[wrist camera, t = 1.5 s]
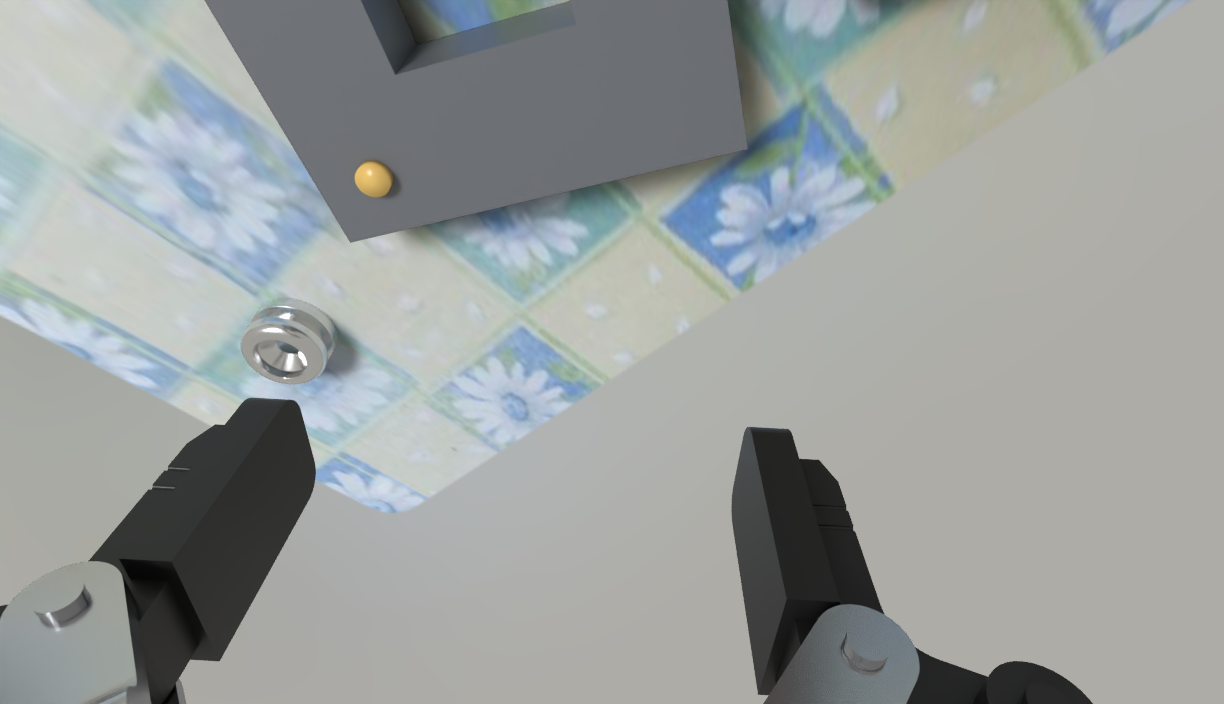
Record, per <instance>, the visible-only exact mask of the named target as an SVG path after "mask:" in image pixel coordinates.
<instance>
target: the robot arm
mask: <svg viewBox="0 0 1224 704" xmlns="http://www.w3.org/2000/svg"><path fill="white" fill-rule="evenodd" d="M315 474H316V469H315V462H314V458H313V454H312V451H311V447H310V443H309V439H308V436H307V432H306V428H305V424H304V421H303V417H302V413H301V410H300V407H299V405H298V404H297V402H295V401H294V400H283V399H265V398H248V399H246V400H245V401H244V402H243V403H242V404H241V405H240V406H239V408H238V409H237V410H236V412H235V413H234V414H233V415H232V417H231V418H230V419H229V420H228V422H227V423H226V424H225V425H214V426H212V427H211V428H209V429H208V430H207V431H205V432H204V433H202V434H201V435H199V436H198V437H196V438H195V439H193V440H192V441H190V442H189V443H187V444H186V445H185V447H184V448H183V449H182V450H181V451H180V453H179V454H178V455H177V456H176V457H175V459H174V460H173V461H172V462H171V463H170V465H169V466H168V470H167V471H164V472H163V473H162V474H161V475H160V476H159V478H158V479H157V480H156V482H154V484H153V488H152V490H148V491H147V492H146V493H145V495H144V496H143V497H142V498H141V499H140V500H139V502H138V503H137V504H136V505H135V506H134V508H133V509H132V510H131V511H130V512H129V513H128V515H127V516H126V517H125V518H124V520H123V521H122V522H121V523H120V524H119V525H118V527H117V528H116V529H115V530H114V531H113V533H112V534H111V535H110V536H109V537H108V539H107V540H106V541H105V542H104V543H103V545H102V546H101V547H100V548H99V550H98V551H97V552H96V553H95V554H94V555H93V557H92V558H91V559H90V560H89V561H88V562H81V563H76V564H71V565H68V566H65V567H62V568H59V569H57V570H54V571H52V572H50V573H48V574H46V575H44V576H42V577H40V578H39V579H37V580H36V581H34V582H32V583H31V584H30V585H28V586H27V587H26V588H24V589H23V590H22V591H21V592H20V593H19V594H18V595H17V596H16V597H14V598H13V600H12V601H11V602H10V603H9V604H8V605H4V606H0V704H186V701H185V695H184V690H183V686H182V683H181V681H180V679H179V677H180V675H181V674H182V672H183V670H184V669H185V667H186V665H187V663H188V662H189V660H190V659H191V660H208V661H220V659H221V658H222V656H223V654H224V652H225V650H226V648H227V647H228V645H229V643H230V641H231V639H232V638H233V636H234V634H235V632H236V630H237V628H238V627H239V625H240V623H241V621H242V620H243V618H244V616H245V614H246V612H247V610H248V609H249V607H250V605H251V603H252V602H253V600H254V598H255V596H256V594H257V593H258V591H259V589H260V587H261V585H262V584H263V582H264V580H265V578H266V576H267V575H268V573H269V571H270V569H271V567H272V565H273V564H274V562H275V560H276V558H277V556H278V554H279V553H280V551H281V549H282V547H283V546H284V544H285V542H286V540H287V538H288V536H289V535H290V533H291V531H292V529H293V527H294V526H295V524H296V522H297V520H298V518H299V517H300V515H301V513H302V511H303V509H304V508H305V506H306V504H307V502H308V500H309V499H310V496H311V494H312V491H313V488H314V483H315ZM732 523H733V530H734V537H735V543H736V550H737V557H738V564H739V570H740V576H741V583H742V590H743V597H744V603H745V610H746V616H747V623H748V630H749V637H750V643H751V650H752V656H753V663H754V670H755V677H756V683H757V690H758V695H759V694H760V695H769V696H768V698H767V699H766V701H765V702H764V704H1093V703H1092V702H1091V701H1090V700H1089V699H1088V698H1087V697H1086V695H1085V694H1084V693H1083V692H1082V691H1081V690H1079V689H1078V688H1077V687H1076V686H1075V685H1074V684H1072V683H1071V682H1070V681H1068V680H1067V679H1065V678H1064V677H1062V676H1061V675H1059V674H1057V673H1055V672H1054V671H1052V670H1049V669H1047V668H1045V667H1043V666H1040V665H1037V664H1033V663H1028V662H1020V661H1019V662H1018V661H1013V662H1007V663H1004V664H1001V665H999V666H998V667H996V668H995V669H994V670H993V671H992V672H991V674H990V675H989V677H987V676H984V675H981V674H978V673H975V672H972V671H970V670H966V669H964V668H961V667H958V666H955V665H952V664H950V663H947V662H943V661H941V660H939V659H936V658H934V657H931V656H929V655H927V654H925V653H924V652H922V651H920V650H919V649H917V648H916V647H914V645H913V643H912V641H911V639H910V638H909V637H908V635H907V634H906V633H905V632H904V631H903V629H902V628H901V627H900V626H899V625H898V624H896V623H895V622H894V621H893V620H892V619H890V618H889V617H887V616H886V615H884V612H883V610H882V608H881V606H880V603H879V600H878V597H877V594H876V591H875V588H874V585H873V582H872V580H871V576H870V574H869V571H868V568H867V565H866V562H865V559H864V556H863V553H862V550H861V547H860V544H859V541H858V539H857V536H856V533H855V531H853V524H852V521H851V518H850V515H849V512H848V511H846V504H845V501H844V498H843V495H842V492H841V489H840V486H839V483H838V481H837V480H836V479H835V478H834V477H833V476H832V475H831V473H830V472H829V471H828V470H827V469H826V468H825V466H824V465H823V464H822V463H821V462H820V461H819V460H809V459H799V457H798V453H797V450H796V447H795V443H794V440H793V436H792V433H791V431H790V430H788V429H775V428H758V427H747V428H746V430H745V432H744V436H743V441H742V446H741V451H740V457H739V461H738V466H737V471H736V476H735V481H734V487H733V494H732Z"/></svg>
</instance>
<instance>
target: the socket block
mask: <svg viewBox="0 0 1224 704" xmlns="http://www.w3.org/2000/svg"><path fill="white" fill-rule="evenodd" d="M205 2H206V3H207V5H208V7H209V8H210V10H211V12H212V13H213V15H214V17H215V18H216V20H217V22H218V23H219V25H220V27H221V28H222V30H223V32H224V33H225V35H226V37H227V38H228V40H229V42H230V43H231V45H232V47H233V48H234V50H235V52H236V53H237V55H238V57H239V58H240V60H241V62H242V63H243V65H244V67H245V68H246V70H247V72H248V73H249V75H250V77H251V78H252V80H253V82H254V83H255V85H256V87H257V88H258V90H259V92H260V93H261V95H262V97H263V98H264V100H265V102H266V103H267V105H268V107H269V108H270V110H271V112H272V113H273V115H274V116H275V118H276V120H277V121H278V123H279V125H280V126H281V128H282V130H283V131H284V133H285V135H286V136H287V138H288V140H289V141H290V143H291V145H292V146H293V148H294V150H295V151H296V153H297V155H298V156H299V158H300V160H301V161H302V163H303V165H304V166H305V168H306V170H307V171H308V173H309V175H310V176H311V178H312V180H313V181H314V183H315V185H316V186H317V188H318V190H319V191H320V193H321V195H322V196H323V198H324V200H325V201H326V203H327V205H328V206H329V208H330V210H331V211H332V213H333V215H334V216H335V218H336V220H337V221H338V223H339V225H340V226H341V228H342V230H343V231H344V233H345V235H346V236H347V238H348V240H349V241H350V243H351V242H355V241H359V240H363V239H368V238H372V237H376V236H380V235H385V234H389V233H393V232H397V231H402V230H406V229H410V228H414V227H419V226H423V225H427V224H431V223H436V222H440V221H444V220H448V219H453V218H457V217H461V216H465V215H470V214H474V213H478V212H482V211H487V210H491V209H495V208H499V207H504V206H508V205H512V204H516V203H521V202H525V201H529V200H533V199H538V198H542V197H546V196H550V195H555V194H559V193H563V192H567V191H572V190H576V189H580V188H584V187H589V186H593V185H597V184H601V183H606V182H610V181H614V180H618V179H623V178H627V177H631V176H635V175H640V174H644V173H648V172H652V171H657V170H661V169H665V168H669V167H674V166H678V165H682V164H686V163H691V162H695V161H699V160H703V159H708V158H712V157H716V156H720V155H725V154H729V153H733V152H737V151H742V150H746V149H748V147H747V140H746V133H745V125H744V118H743V111H742V103H741V96H740V89H739V81H738V74H737V66H736V59H735V52H734V44H733V37H732V30H731V22H730V15H729V8H728V0H570V1H568V2H564V3H561V4H557V5H554V6H550V7H547V8H543V9H540V10H536V11H533V12H529V13H526V14H522V15H519V16H515V17H512V18H508V19H505V20H501V21H498V22H494V23H491V24H487V25H484V26H480V27H477V28H474V29H470V30H467V31H463V32H460V33H456V34H453V35H449V36H446V37H442V38H439V39H435V40H432V41H428V42H425V43H421V44H418V45H417V44H416V42H415V40H414V37H413V35H412V33H411V30H410V28H409V26H408V23H407V21H406V19H405V16H404V14H403V12H402V9H401V7H400V5H399V2H398V0H205Z"/></svg>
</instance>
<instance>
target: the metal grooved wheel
mask: <svg viewBox="0 0 1224 704" xmlns="http://www.w3.org/2000/svg"><path fill="white" fill-rule="evenodd" d="M337 341H338V334H337V330H336V327H335V325H334V323H333V322H332V320H331V319H330V318H329V317H328V316H327V315H326V314H325V313H324V312H323V311H321V310H320V309H319V308H317V307H315V306H314V305H312V304H310V303H307V302H305V301H302V300H298V299H293V298H277V299H273V300H270V301H268V302H266V303H264V304H263V305H262V306H261V307H260V308H259V310H258V311H257V313H256V314H255V316H254V317H253V319H252V322H251V324H249V325H248V327H247V328H246V329H245V331H244V332H243V334H242V337H241V342H240V346H241V351H242V354H243V357H244V358H245V360H246V362H247V363H248V364H249V365H250V366H251V367H252V368H253V369H254V370H255V371H256V372H258V373H259V374H260V375H262V376H264V377H266V378H268V379H270V380H272V381H275V382H279V383H283V384H303V383H307V382H310V381H312V380H314V379H316V378H317V377H318V376H319V375H320V374H321V373H322V372H323V371H324V369H325V367H326V365H327V362H328V359H329V358H330V356H331V355H332V353H333V351H334V348H335V346H336V344H337Z"/></svg>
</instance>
